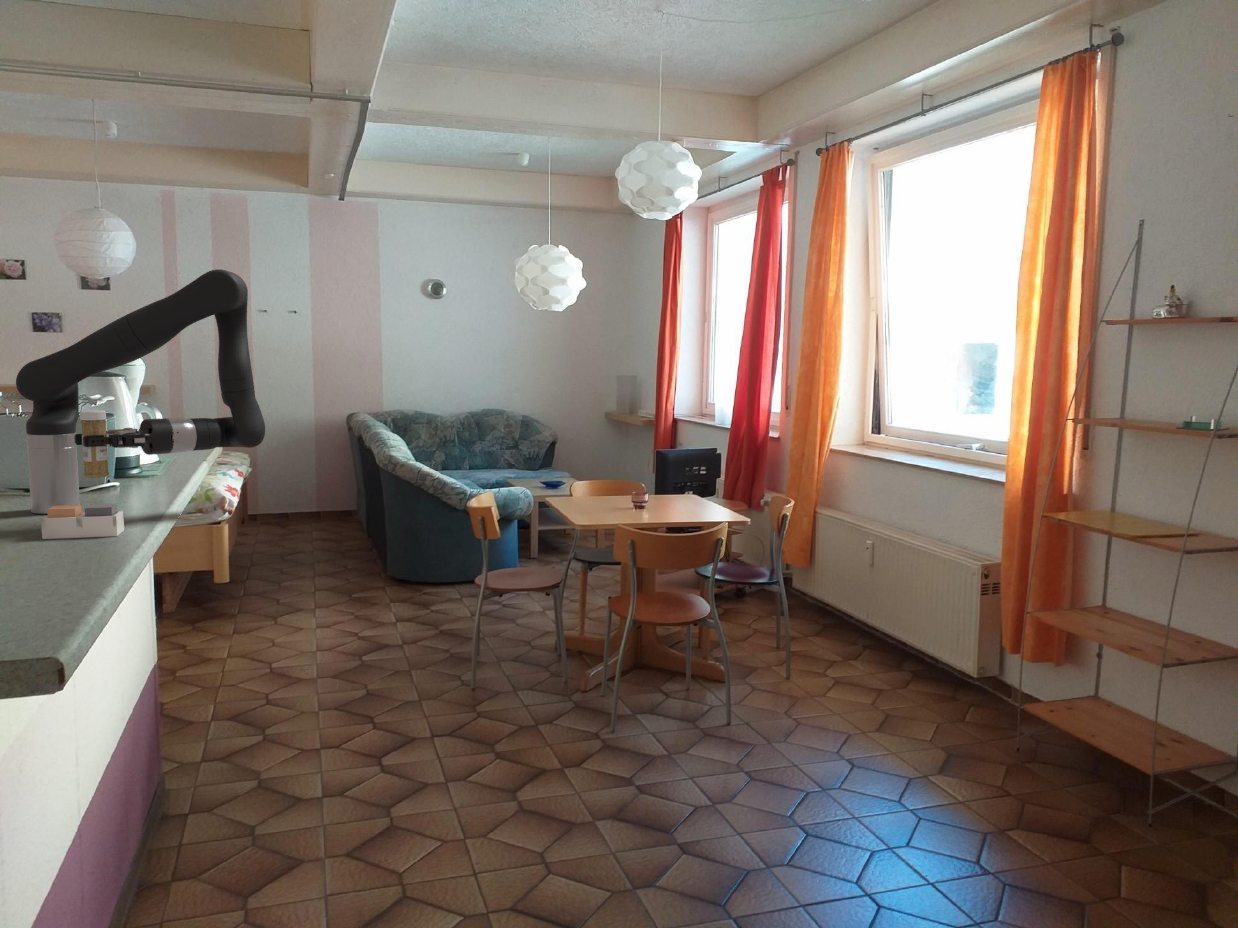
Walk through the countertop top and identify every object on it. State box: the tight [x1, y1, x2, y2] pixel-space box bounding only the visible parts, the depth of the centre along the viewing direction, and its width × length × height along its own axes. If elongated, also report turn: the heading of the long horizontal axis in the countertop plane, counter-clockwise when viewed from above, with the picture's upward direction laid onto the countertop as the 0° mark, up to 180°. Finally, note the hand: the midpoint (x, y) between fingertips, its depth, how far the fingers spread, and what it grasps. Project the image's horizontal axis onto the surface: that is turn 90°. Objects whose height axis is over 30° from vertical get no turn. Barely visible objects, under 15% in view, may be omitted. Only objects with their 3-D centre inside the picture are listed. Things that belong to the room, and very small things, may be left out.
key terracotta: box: [47, 504, 83, 518], centre depth 174 cm, size 5×5×2 cm
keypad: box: [40, 510, 125, 540], centre depth 175 cm, size 6×13×4 cm, turn 108°
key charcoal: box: [84, 503, 118, 517], centre depth 176 cm, size 5×5×2 cm
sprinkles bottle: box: [79, 409, 110, 479], centre depth 183 cm, size 5×5×14 cm
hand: (79, 440), depth 180 cm, fingers closed on sprinkles bottle, 4 cm apart
